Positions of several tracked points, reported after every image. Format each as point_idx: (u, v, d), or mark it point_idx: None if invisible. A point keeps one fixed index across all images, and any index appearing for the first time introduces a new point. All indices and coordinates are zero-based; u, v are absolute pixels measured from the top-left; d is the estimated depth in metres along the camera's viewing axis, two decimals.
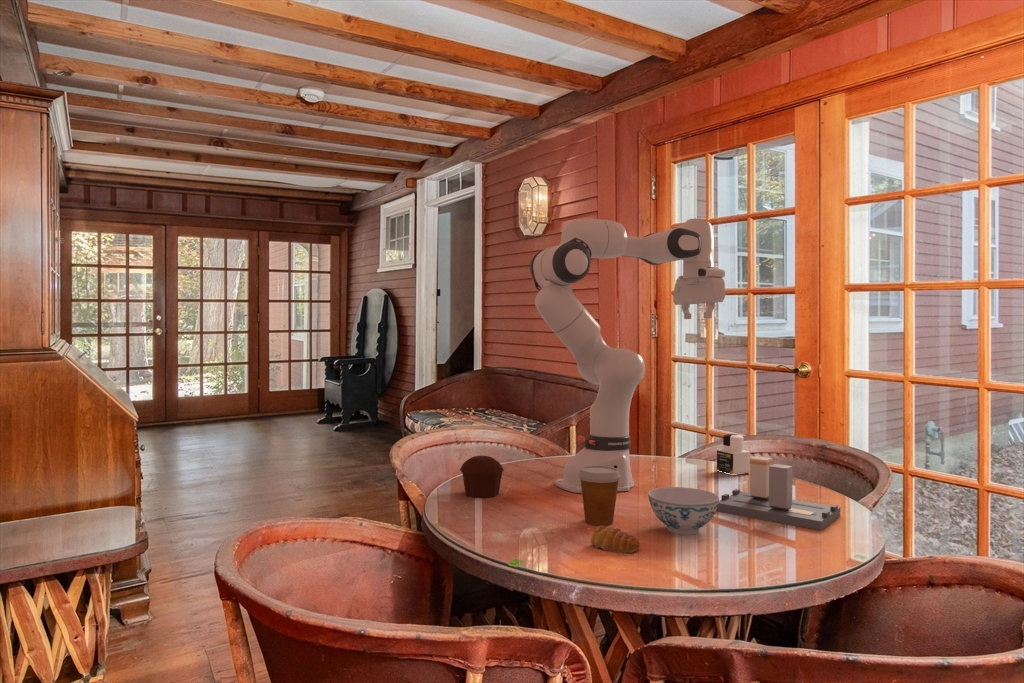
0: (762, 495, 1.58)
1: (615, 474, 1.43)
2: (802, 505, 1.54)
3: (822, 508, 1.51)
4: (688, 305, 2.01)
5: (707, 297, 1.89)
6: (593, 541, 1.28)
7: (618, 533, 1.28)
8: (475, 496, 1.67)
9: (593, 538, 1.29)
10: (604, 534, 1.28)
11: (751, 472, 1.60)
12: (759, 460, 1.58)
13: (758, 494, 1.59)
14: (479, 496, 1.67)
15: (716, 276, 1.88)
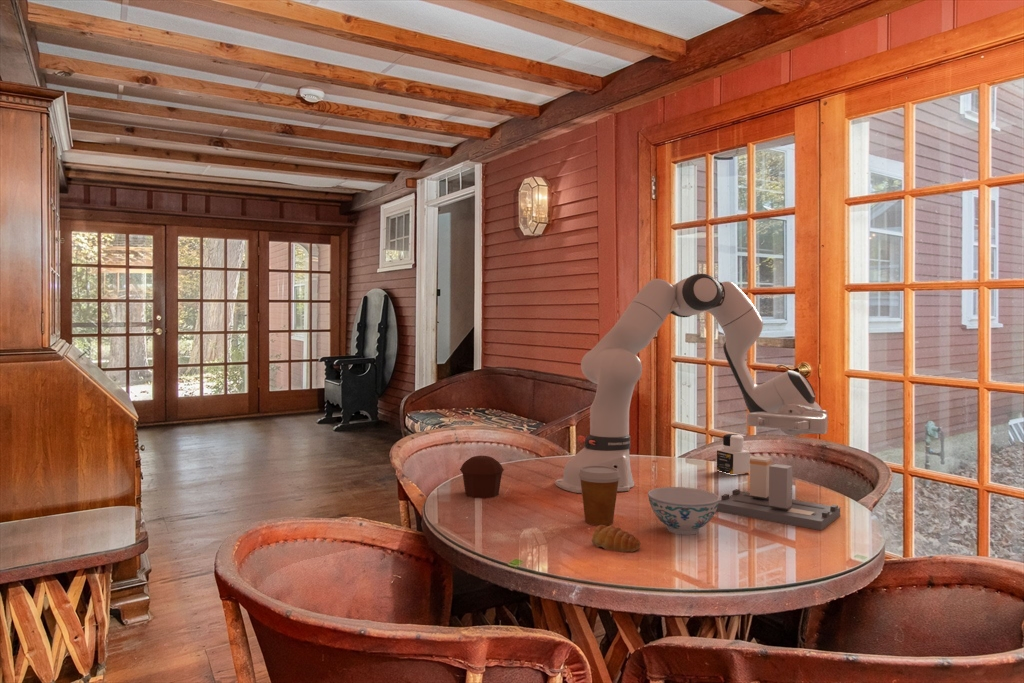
0: (762, 495, 1.58)
1: (615, 474, 1.43)
2: (802, 505, 1.54)
3: (822, 508, 1.51)
4: (763, 423, 1.76)
5: (811, 417, 1.70)
6: (594, 540, 1.29)
7: (619, 532, 1.28)
8: (475, 496, 1.67)
9: (594, 537, 1.29)
10: (605, 533, 1.28)
11: (751, 472, 1.60)
12: (759, 460, 1.58)
13: (758, 494, 1.59)
14: (479, 496, 1.67)
15: None
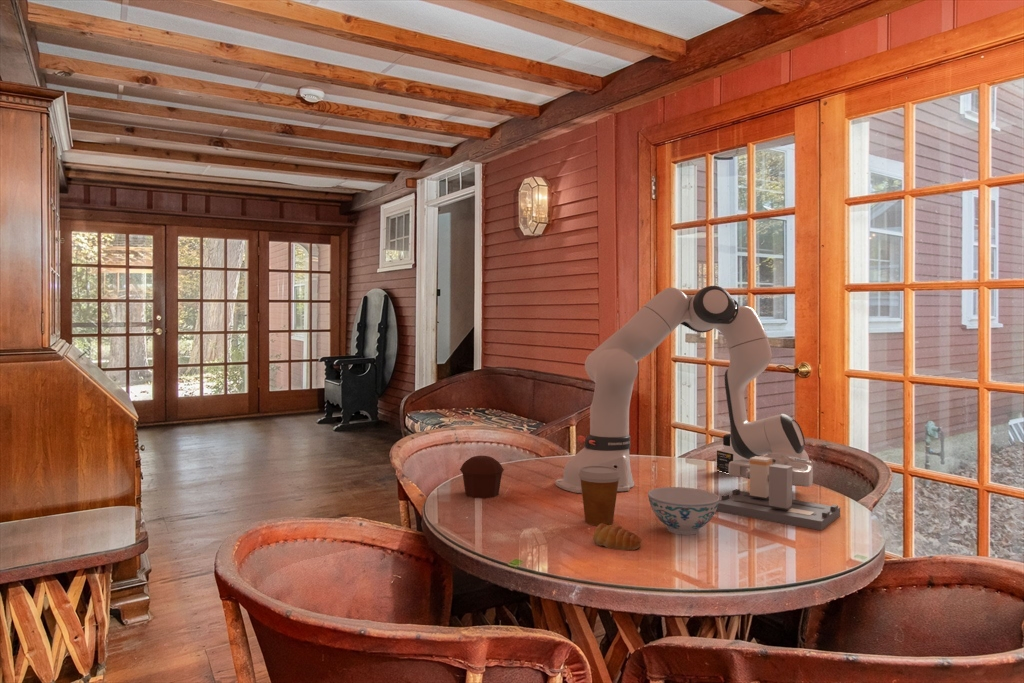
0: (762, 495, 1.58)
1: (615, 474, 1.43)
2: (802, 505, 1.54)
3: (822, 508, 1.51)
4: None
5: (795, 469, 1.60)
6: (595, 539, 1.30)
7: (620, 530, 1.29)
8: (475, 496, 1.67)
9: (595, 536, 1.30)
10: (606, 532, 1.29)
11: (751, 472, 1.60)
12: (759, 460, 1.58)
13: (758, 494, 1.59)
14: (479, 496, 1.67)
15: None
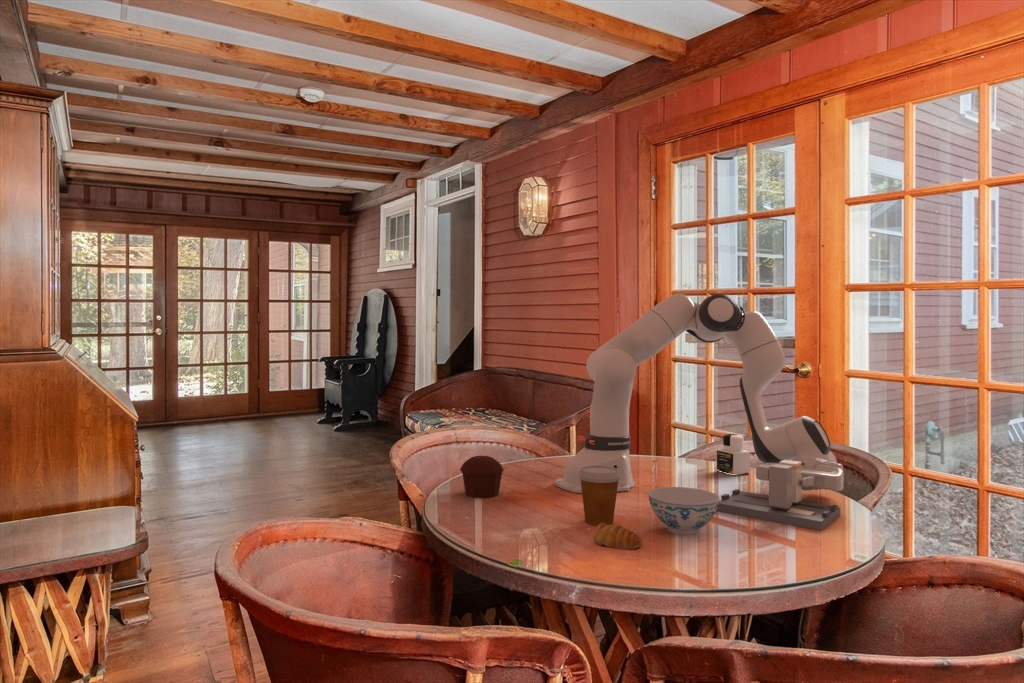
0: (792, 500, 1.53)
1: (615, 474, 1.43)
2: (802, 505, 1.54)
3: (822, 508, 1.51)
4: None
5: (826, 473, 1.55)
6: (596, 538, 1.30)
7: (620, 530, 1.30)
8: (475, 496, 1.67)
9: (596, 535, 1.30)
10: (607, 531, 1.30)
11: None
12: (789, 464, 1.54)
13: None
14: (479, 496, 1.67)
15: None
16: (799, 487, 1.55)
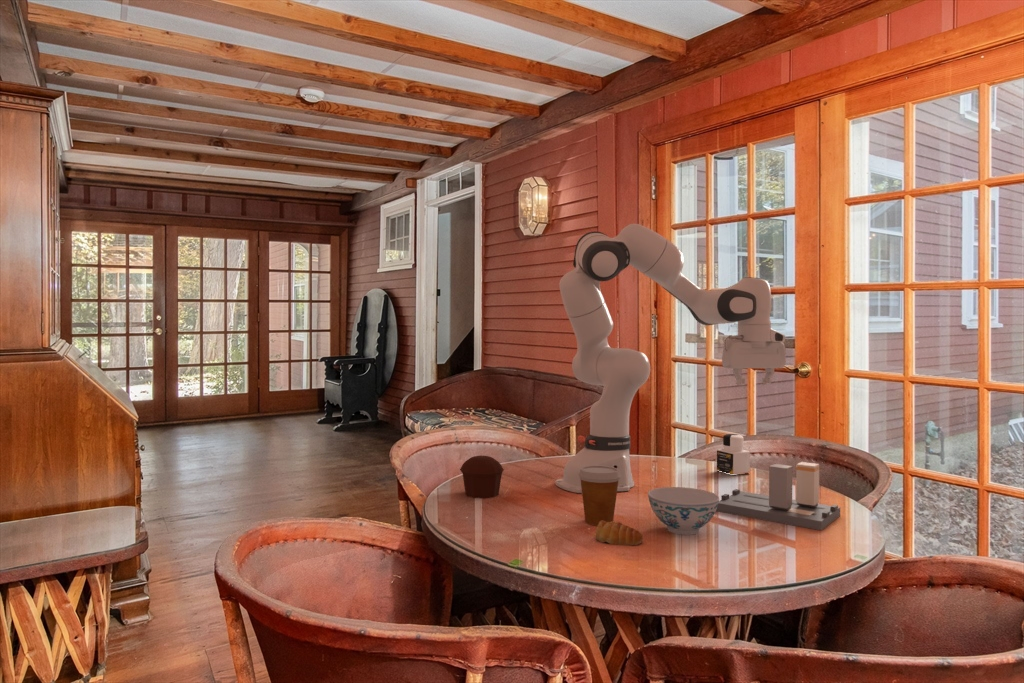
0: (810, 503, 1.51)
1: (615, 474, 1.43)
2: None
3: (822, 508, 1.51)
4: None
5: (776, 363, 1.82)
6: (598, 536, 1.32)
7: (622, 526, 1.32)
8: (475, 496, 1.67)
9: (598, 533, 1.32)
10: (609, 528, 1.32)
11: (798, 479, 1.53)
12: (806, 466, 1.51)
13: (805, 502, 1.51)
14: (479, 496, 1.67)
15: None
16: (817, 490, 1.52)
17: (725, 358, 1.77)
